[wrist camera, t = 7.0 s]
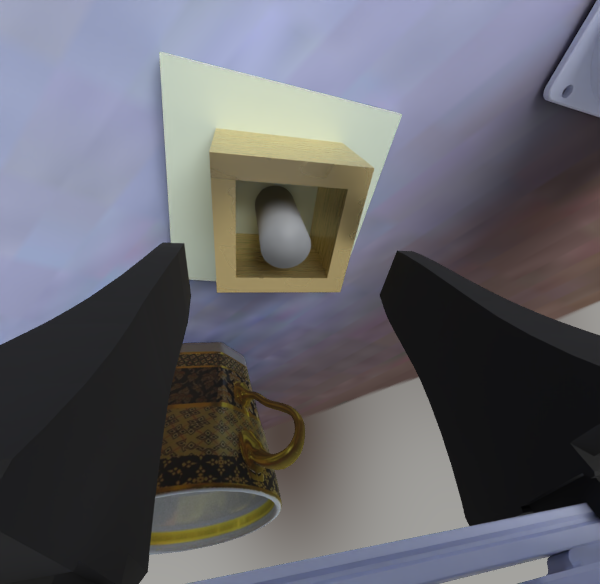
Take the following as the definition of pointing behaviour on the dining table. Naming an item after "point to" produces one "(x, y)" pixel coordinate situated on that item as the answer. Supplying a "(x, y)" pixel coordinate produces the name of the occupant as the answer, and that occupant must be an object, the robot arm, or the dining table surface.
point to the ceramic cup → (216, 454)
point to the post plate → (259, 119)
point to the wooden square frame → (296, 171)
